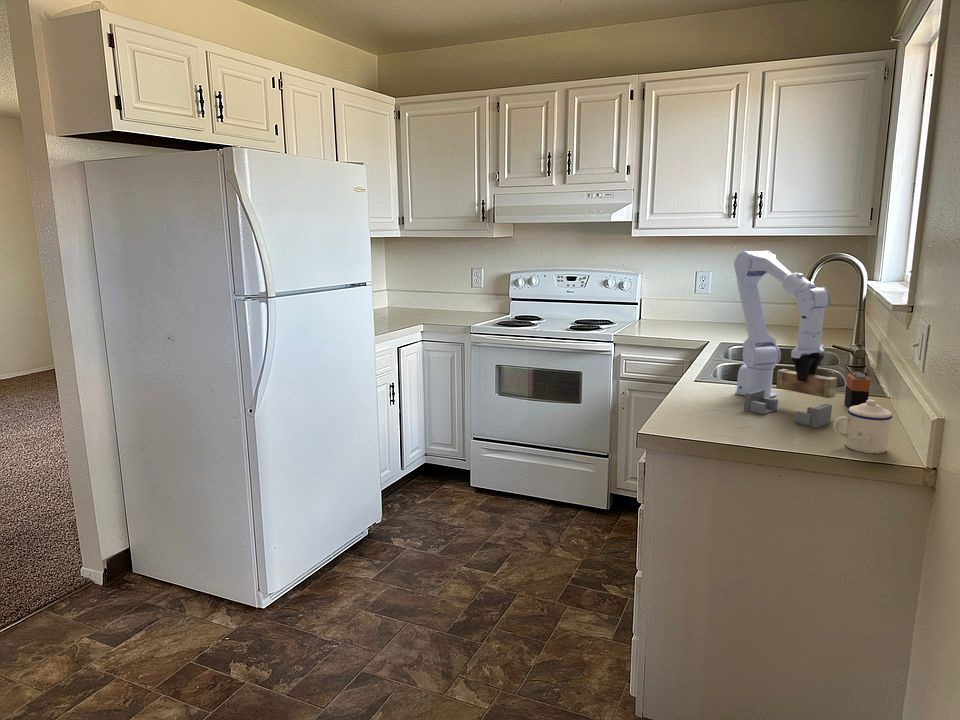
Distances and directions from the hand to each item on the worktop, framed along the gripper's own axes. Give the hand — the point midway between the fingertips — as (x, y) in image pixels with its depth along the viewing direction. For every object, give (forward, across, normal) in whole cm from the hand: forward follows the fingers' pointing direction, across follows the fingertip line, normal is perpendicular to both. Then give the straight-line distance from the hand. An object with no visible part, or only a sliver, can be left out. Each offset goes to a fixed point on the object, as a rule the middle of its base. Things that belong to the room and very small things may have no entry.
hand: (805, 380), depth 184 cm
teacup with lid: (+9, -19, -23) cm, 31 cm away
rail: (+3, 0, 0) cm, 3 cm away
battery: (+9, +15, -8) cm, 19 cm away
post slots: (+9, -9, 0) cm, 12 cm away
